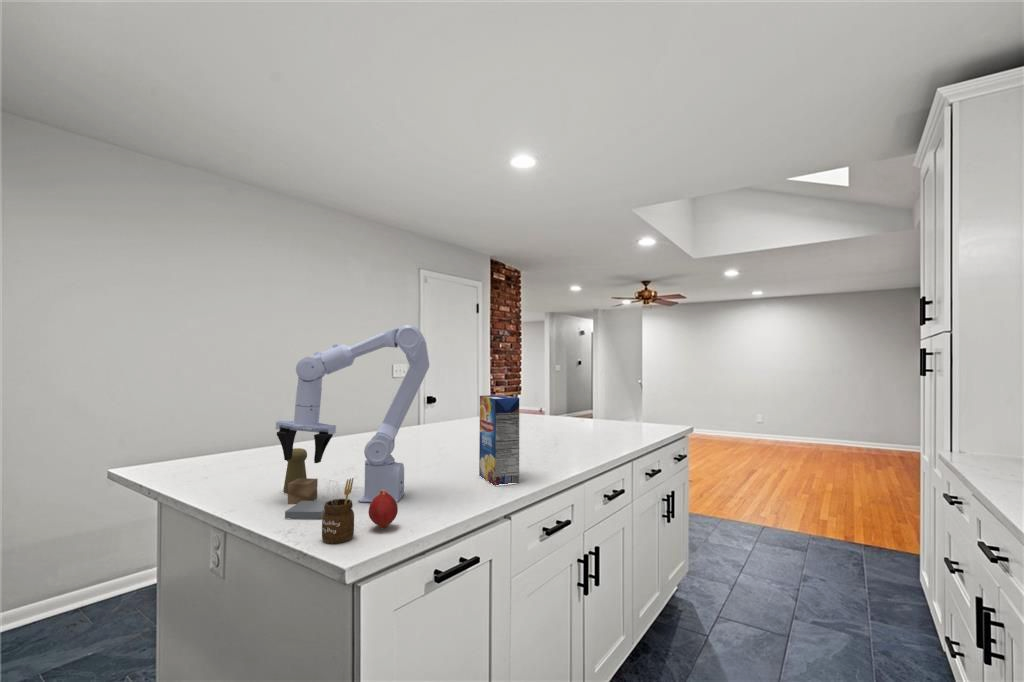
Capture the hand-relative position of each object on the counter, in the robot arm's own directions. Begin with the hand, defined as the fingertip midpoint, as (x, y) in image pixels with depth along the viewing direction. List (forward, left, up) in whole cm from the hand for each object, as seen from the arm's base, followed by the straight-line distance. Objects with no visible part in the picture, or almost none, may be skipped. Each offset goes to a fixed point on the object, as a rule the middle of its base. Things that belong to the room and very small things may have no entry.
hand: (302, 461), depth 119 cm
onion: (-25, +18, -10) cm, 33 cm away
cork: (+6, -9, -10) cm, 15 cm away
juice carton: (-47, -22, -10) cm, 53 cm away
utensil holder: (-18, +24, -10) cm, 32 cm away
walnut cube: (0, 0, -10) cm, 10 cm away
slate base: (-6, +9, -10) cm, 15 cm away
